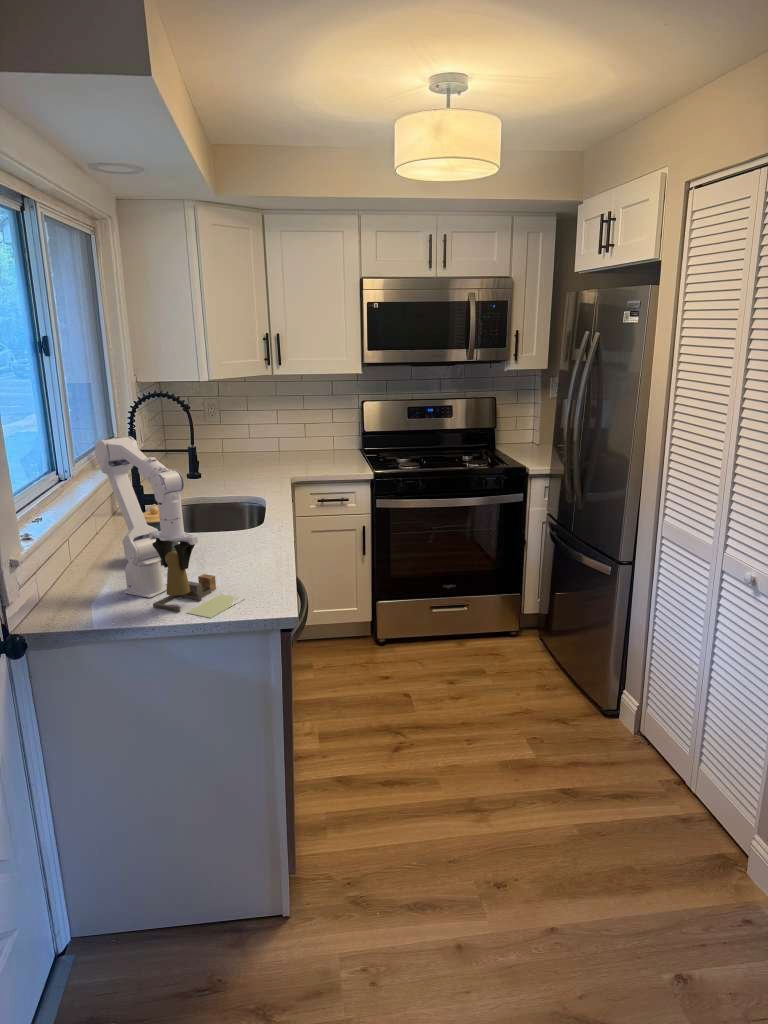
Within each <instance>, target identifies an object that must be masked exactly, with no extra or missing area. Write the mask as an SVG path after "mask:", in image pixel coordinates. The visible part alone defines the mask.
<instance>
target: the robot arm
mask: <svg viewBox="0 0 768 1024" xmlns="http://www.w3.org/2000/svg"><path fill="white" fill-rule="evenodd" d="M94 454H95V458H96V461H97V463H98V466H99V468H100V471H101V473H103V474H105V475H106V476H107V478H108V482H109V484H110V486H111V488H112V491H113V494H114V496H115V499H116V502H117V503H118V507H119V509H120V512H121V514H122V517H123V519H124V522H125V525H126V528H127V533H126V534H125V535H124V537H123V539H122V541H121V542H122V545H123V551H124V552H123V553H124V556H125V558H126V560H127V563H126V565H125V569H124V573H125V582H126V583H125V584H126V590H125V591H124V594H129V595H133V596H138V597H144V598H149V599H150V598H151V599H152V598H153V597H155V596H157V595H158V596H159V594H162V593H164V592H167V585H163V584H164V582H163V573H162V566H163V567H164V568H165V569H166V568H167V569H168V564H167V563H166V562H165V556H166V554H167V553H168V552H171V549H172V542H173V541H174V542H178V544H177V545H175V546H174V548H175V549H176V552H177V554H178V558H179V564H180V568H181V570H187V569H189V564H190V559H191V556H192V552H193V549H194V548H195V546H196V545H197V544H198V543H199V540H198V535H194V534H191V533H188V532H185V527H184V517H183V516H184V515H183V506H182V498H181V492H183V490H184V488H185V480H184V476H183V475H182V473H181V471H179V470H178V469H169V468H168V467H166V466H165V465H164V464H162V462H160V461H158V459H157V458H156V457H155V456H154V457H153V456H152V457H147V456H146V455H145V454H144V453H143V451H141V450H140V449H139V444H138V441H137V440H136V439H135V438H134V437H132V436H131V435H130V436H125V437H117V438H110V439H98V440H97V442H96V444H95V449H94ZM134 467H136V468H137V472H138V474H139V476H141V477H142V478H143V479H144V480H145V481H147V482H148V483H149V484H150V486H151V489H152V492H153V494H154V500H155V502H157V507H158V509H159V518H160V528H161V531H158V529H156V528H154V527H151V526H149V525H147V523H146V520H145V518H144V515H143V513H144V512H143V511H142V510H143V509H141V505H140V503H139V500H138V496H137V494H136V492H135V489H134V487H133V485H132V482H131V480H130V477H129V475H128V474H129V473H128V472H129V471H130V470H132V469H133V468H134ZM160 560H162V563H163V565H161V562H160Z"/></svg>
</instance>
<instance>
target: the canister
mask: <svg viewBox="0 0 768 1024" xmlns="http://www.w3.org/2000/svg"><path fill="white" fill-rule="evenodd" d="M142 513H143V515H144V518H145V520H146V523H147V525H149V526H151V527H154V528H156V529H158V531H161V528H160V518H159V509H158V506H157V505H155V506H154V505H153V506H151V507H150V509H149V511H145V512H142ZM177 544H179V542H174V541H173V542H172V549H171V552H172V551H176V549H175V548H174V546H175V545H177ZM160 562H161V566H164V565H163V563H162V560H160Z"/></svg>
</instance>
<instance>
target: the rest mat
mask: <svg viewBox="0 0 768 1024" xmlns="http://www.w3.org/2000/svg"><path fill="white" fill-rule="evenodd" d="M234 597H235V598H236V597H237V598H239V597H238V596H233V595H228V594H219V595H217V596H214V597H213V598H210V599H209V600H208V601H205V602H204V603H201V604H199V605H198V606H196V607H194V608H192V609H190V610H189V611H186V614H188V615H194V616H198V617H202V618H208V619H212V618H214V617H216V616H218V615H220V614H221V613H223V612H225V611H226V609H227V610H228V608H229V607H230V608H232V607H233V605H232V603H233V600H234V599H235V598H234ZM233 598H234V599H233ZM235 601H236V600H235ZM235 601H234V602H235ZM230 603H231V604H230ZM231 605H232V607H231ZM230 608H229V609H230Z"/></svg>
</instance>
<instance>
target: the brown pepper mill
mask: <svg viewBox="0 0 768 1024" xmlns="http://www.w3.org/2000/svg"><path fill="white" fill-rule="evenodd" d="M165 562H166V563H167V564H168V567H167V573H166V574H167V575H166V576H167V577H166V578H167V579H166V586H167V590H166V595H168V596H170V595H171V596H176V595H183V594H187V593H189V592H190V587H189V583H188V581H189V580H188V579H189V578H188V575H187V572H186V570H187V569H185V570H181V568H180V564H179V558H178V554H177V552H176V551H172V552H168V553H167V554H166V556H165Z"/></svg>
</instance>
